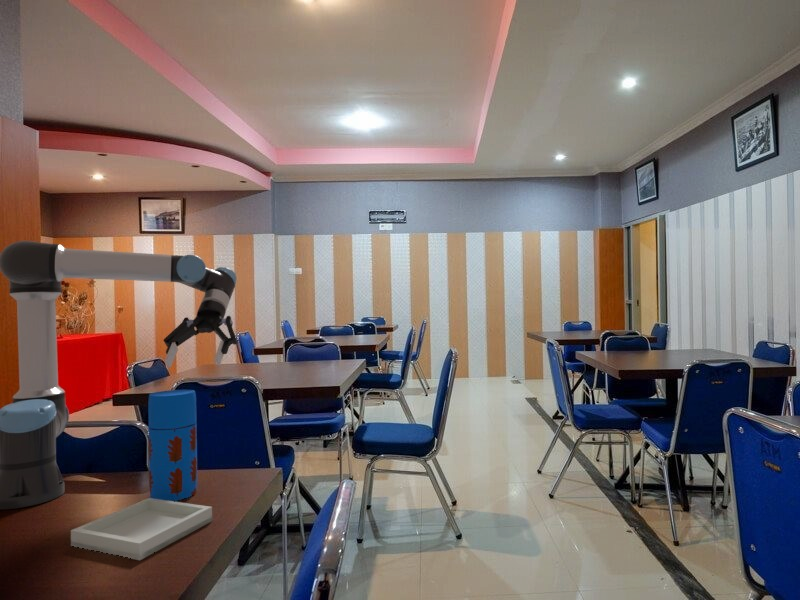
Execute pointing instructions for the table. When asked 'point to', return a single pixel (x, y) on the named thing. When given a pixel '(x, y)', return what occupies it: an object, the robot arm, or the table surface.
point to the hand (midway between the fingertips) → (192, 363)
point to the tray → (141, 528)
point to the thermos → (172, 444)
